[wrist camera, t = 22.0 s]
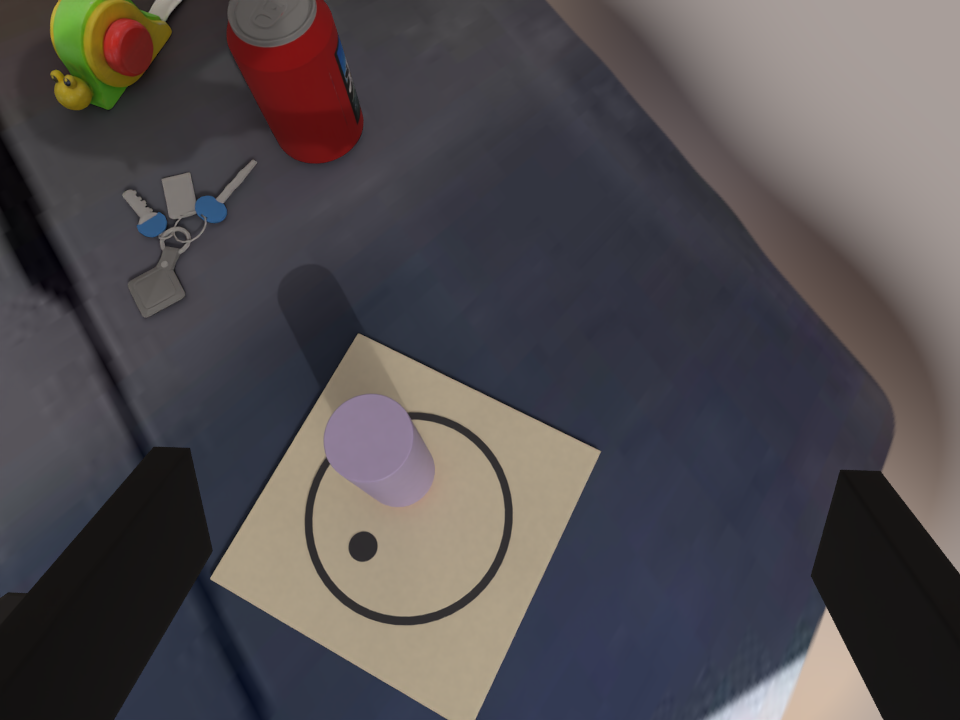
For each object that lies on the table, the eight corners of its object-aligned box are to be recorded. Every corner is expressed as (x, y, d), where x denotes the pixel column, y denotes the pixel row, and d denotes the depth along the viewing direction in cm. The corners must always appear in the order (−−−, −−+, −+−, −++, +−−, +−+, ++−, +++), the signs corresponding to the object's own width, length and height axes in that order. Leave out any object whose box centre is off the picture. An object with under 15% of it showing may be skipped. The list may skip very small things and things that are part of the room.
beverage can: (382, 116, 53) (348, -13, 42) (335, 184, 52) (285, 68, 40) (310, 83, 55) (257, -51, 43) (261, 148, 53) (193, 26, 42)
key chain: (170, 328, 48) (164, 323, 48) (71, 291, 50) (64, 286, 49) (260, 165, 52) (257, 159, 52) (166, 135, 54) (161, 128, 53)
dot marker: (449, 459, 44) (429, 417, 34) (415, 522, 43) (384, 499, 33) (389, 428, 45) (352, 378, 35) (355, 489, 44) (305, 456, 33)
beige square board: (600, 452, 44) (601, 450, 44) (469, 730, 40) (468, 732, 39) (359, 334, 48) (357, 331, 47) (212, 578, 43) (208, 578, 42)
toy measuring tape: (49, 113, 55) (-10, 52, 49) (178, -61, 60) (140, -136, 54) (116, 139, 54) (64, 80, 48) (242, -41, 59) (210, -115, 53)
